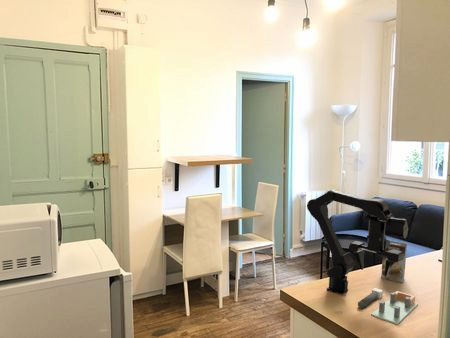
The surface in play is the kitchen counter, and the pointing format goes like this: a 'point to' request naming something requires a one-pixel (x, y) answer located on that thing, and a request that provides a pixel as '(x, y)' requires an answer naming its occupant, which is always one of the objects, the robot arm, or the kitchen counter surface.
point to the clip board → (395, 307)
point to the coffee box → (398, 267)
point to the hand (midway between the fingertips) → (373, 272)
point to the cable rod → (370, 297)
